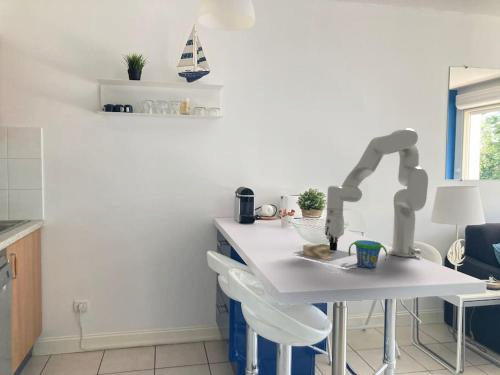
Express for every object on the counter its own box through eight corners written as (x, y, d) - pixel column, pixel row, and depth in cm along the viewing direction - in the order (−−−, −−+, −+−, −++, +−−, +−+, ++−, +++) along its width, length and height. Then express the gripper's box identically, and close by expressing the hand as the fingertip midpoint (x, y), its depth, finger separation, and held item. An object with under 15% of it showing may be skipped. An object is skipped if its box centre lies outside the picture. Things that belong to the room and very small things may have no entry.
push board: (357, 255, 188) (357, 254, 188) (329, 263, 172) (329, 261, 172) (321, 248, 203) (321, 246, 203) (292, 254, 186) (292, 252, 186)
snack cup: (388, 266, 170) (389, 242, 169) (383, 272, 161) (384, 247, 160) (351, 261, 178) (353, 238, 177) (344, 266, 168) (346, 242, 168)
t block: (335, 255, 184) (336, 246, 183) (322, 258, 177) (322, 249, 177) (316, 251, 192) (316, 242, 191) (302, 253, 185) (303, 245, 185)
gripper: (332, 214, 183) (331, 254, 184) (350, 211, 193) (348, 249, 194) (319, 212, 188) (317, 251, 189) (336, 210, 198) (334, 247, 200)
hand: (333, 250), depth 192 cm, fingers closed
